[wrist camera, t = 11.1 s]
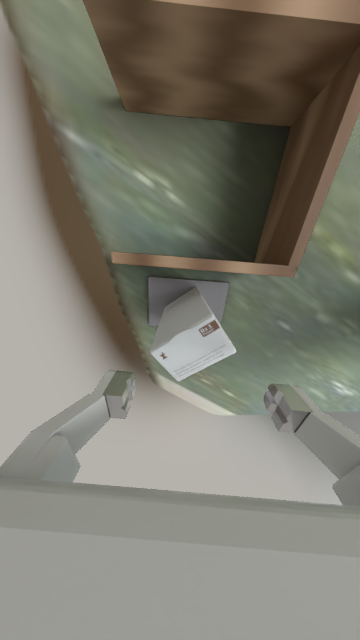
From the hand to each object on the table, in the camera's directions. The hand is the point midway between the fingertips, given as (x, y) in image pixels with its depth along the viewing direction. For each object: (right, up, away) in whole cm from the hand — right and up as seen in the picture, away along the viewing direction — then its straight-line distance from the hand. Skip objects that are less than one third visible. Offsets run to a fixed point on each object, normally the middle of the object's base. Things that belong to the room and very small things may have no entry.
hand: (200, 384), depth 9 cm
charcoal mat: (0, +6, +14) cm, 15 cm away
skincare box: (0, +6, +14) cm, 15 cm away
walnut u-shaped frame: (+2, +19, +8) cm, 20 cm away
